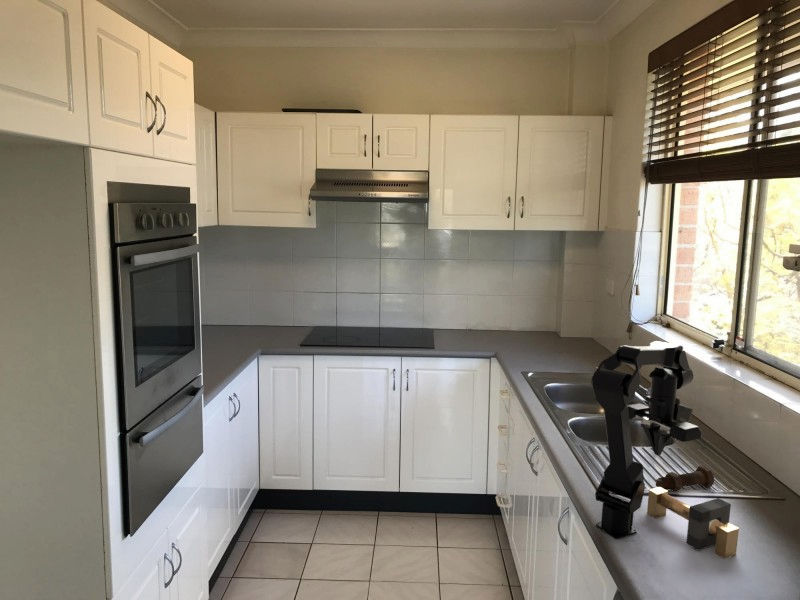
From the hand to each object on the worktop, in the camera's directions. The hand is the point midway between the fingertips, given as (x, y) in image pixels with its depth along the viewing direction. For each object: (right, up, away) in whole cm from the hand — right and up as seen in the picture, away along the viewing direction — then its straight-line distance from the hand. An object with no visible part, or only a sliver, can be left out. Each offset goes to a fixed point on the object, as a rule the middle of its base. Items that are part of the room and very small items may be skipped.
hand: (657, 454), depth 148 cm
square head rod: (+2, -15, -12) cm, 19 cm away
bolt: (+11, -12, +10) cm, 19 cm away
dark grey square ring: (+4, -15, -16) cm, 22 cm away
